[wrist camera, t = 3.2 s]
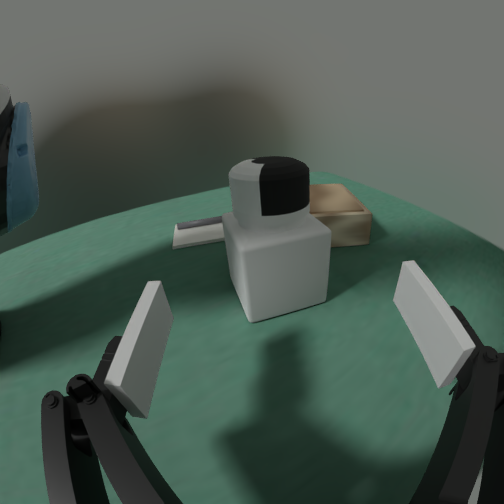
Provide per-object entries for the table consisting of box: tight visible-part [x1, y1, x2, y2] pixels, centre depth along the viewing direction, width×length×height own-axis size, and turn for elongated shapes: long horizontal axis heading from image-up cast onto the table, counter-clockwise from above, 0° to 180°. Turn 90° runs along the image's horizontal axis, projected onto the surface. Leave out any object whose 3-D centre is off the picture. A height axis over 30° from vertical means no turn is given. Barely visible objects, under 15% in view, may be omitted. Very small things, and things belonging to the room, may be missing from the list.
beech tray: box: [309, 184, 372, 247], centre depth 35 cm, size 12×12×4 cm
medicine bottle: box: [222, 156, 331, 323], centre depth 23 cm, size 7×7×12 cm
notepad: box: [173, 216, 225, 249], centre depth 38 cm, size 10×7×2 cm
